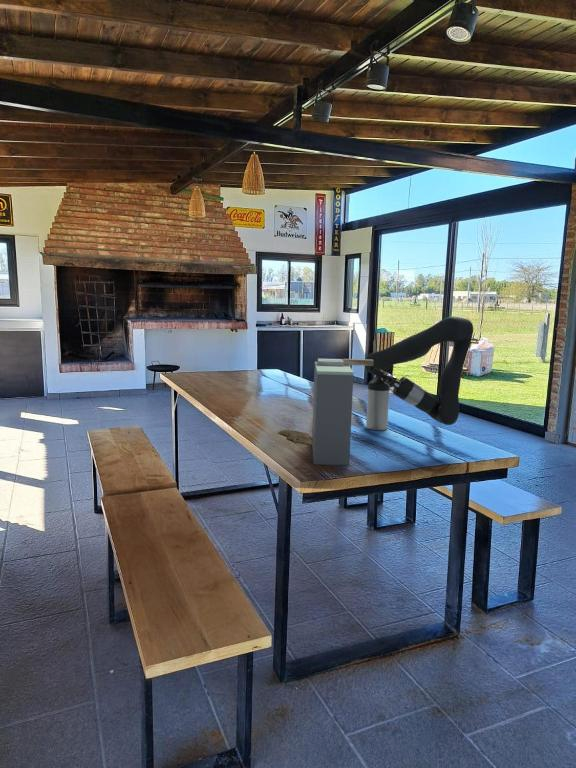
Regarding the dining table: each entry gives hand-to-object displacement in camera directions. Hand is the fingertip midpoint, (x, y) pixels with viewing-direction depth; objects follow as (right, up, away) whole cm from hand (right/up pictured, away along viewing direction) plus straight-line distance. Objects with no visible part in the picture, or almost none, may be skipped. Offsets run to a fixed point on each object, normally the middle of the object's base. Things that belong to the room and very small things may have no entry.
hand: (371, 368), depth 199 cm
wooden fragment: (-26, -28, +20) cm, 43 cm away
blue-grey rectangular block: (-16, -31, -1) cm, 35 cm away
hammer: (-11, +1, 0) cm, 11 cm away
